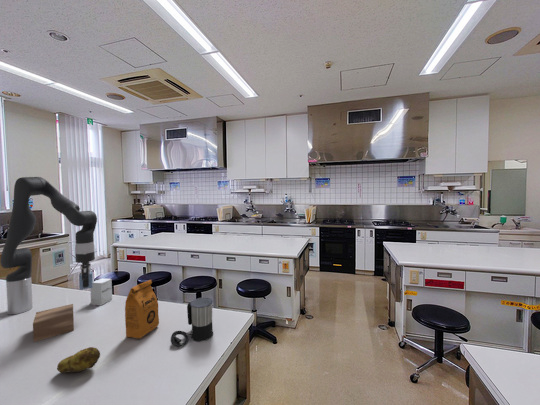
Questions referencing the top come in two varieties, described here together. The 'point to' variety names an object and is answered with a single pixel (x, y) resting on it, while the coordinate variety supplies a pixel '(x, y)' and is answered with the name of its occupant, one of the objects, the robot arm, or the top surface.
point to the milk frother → (197, 322)
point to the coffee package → (141, 310)
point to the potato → (79, 360)
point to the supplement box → (101, 291)
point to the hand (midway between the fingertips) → (86, 285)
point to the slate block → (89, 281)
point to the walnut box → (53, 322)
